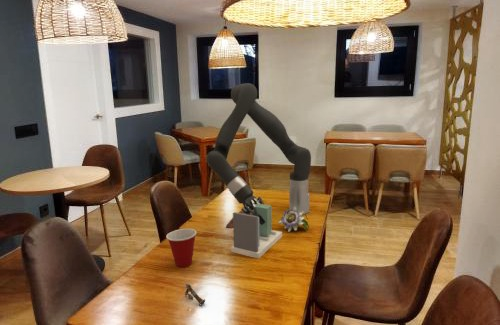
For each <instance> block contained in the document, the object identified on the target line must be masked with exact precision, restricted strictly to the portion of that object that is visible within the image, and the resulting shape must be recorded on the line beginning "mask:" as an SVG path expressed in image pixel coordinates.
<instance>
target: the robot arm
mask: <svg viewBox="0 0 500 325" xmlns="http://www.w3.org/2000/svg"><path fill="white" fill-rule="evenodd" d="M230 98H231V100H232V101H233V103H234V104H235V106H234V108H233V109H232V112H231V113H230V115H229V116H228V117H227V119H226V120H225V121H224V123H223V124H222V126H220V130H219V132H218V134H217V136H216V138H215V142H214V144H215V145H214V148H213V150H211V151H209V152H208V153H207V155H206V163H207V164H208V166H209V167H210V168H211V169H212V171H214V172H215V173H216V175H217V176H218V177H219V178H220V180H221V181H222V183H223V184H224V185H225V186H226V188H227V189H228V191H229V193H230V194H231V195H232V196H233V197H234V199H235V200H236V201H237V202H238V203H239V204H240V205H241V204H242V206H243V207H242V208H241V210H240V211H243V212H244V213H245V214H248V215H251V214H252V215H254V216H258V217H259V223H260V224H261V225H263V224H264V223H265V220H264V219H263V218H262V217H261V216H260V215H259V213H258V212H257V209H256V207H255V205H256V204H264V205H265V203H264V201H263V200H262V197H261V196H258V197H255V195H254V190H253V189H252V188H251V187H250V186H249V185H248V183H247V182H246V181H245V180H244V179H243V178H242V177H241V176H240V175H239V173H238V172H237V171H236V169H234V167H232V166H231V165H230V163H229V161H228V160H227V158H228V155H229V153H230V148H231V146H232V144H233V142H234V140H235V137H236V136H237V133H238V131H239V129H240V127H241V124H242V123H243V121H244V119H245V118H246V117H247V115H248V117H250V119H251V120H252V121H253V122H254V123H255V125H256V126H257V127H258V128H259V129H260V131H262V132H263V133H264V134H265V136H266V137H267V138H268V139H269V140H271V142H272V143H273V144H275V146H276V147H278V149H279V150H280V151H281V153H282V154H283V155H284V157H285V158H286V159H287V161H288V162H289V163H290V164H293V167H294V168H293V169H294V170H292V171H291V172H290V173H289V204H288V206H289V207H288V208H289V209H288V210H290V209H293V207H296V211H297V212H301V211H303V214H302V215H304V214H306V215H307V213H310V193H309V176H310V173H311V164H312V156H311V155H312V154H311V151H310V150H309V149H308V148H307V147H303V146H300V145H298V144H297V143H295V142H294V141H293V140H292V139H291V138H290V136H289V135H288V132H287V129H286V127H285V126H284V124H283V122H282V121H281V120H280V119H279V118H278V117H277V115H275V114H274V113H272V112H271V111H269V110H268V109H267V108H265V107H263V106H262V105H261V104H259V103H258V102H257V101H256V100H257V98H258V90H257V88H256V86H255V85H254V84H253V83H249V82H247V83H241V84H236V85H234V86H233V87H232V88H231V91H230ZM253 209H254V210H253ZM252 210H253V211H252ZM297 212H296V213H297Z"/></svg>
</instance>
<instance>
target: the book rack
mask: <svg viewBox="0 0 500 325" xmlns="http://www.w3.org/2000/svg"><path fill="white" fill-rule="evenodd" d="M232 219H233V231H232V232H233V245H232V246H231V248H230V252H231V253H235V254H239V255H243V256H247V257H251V258H254V259H260V258H261V257H262V256H263V255H265V253H266V252H268V251H269V249H271V248H272V247H273V246H274V245H275V244H276V243H277V242H278V241H279V240H280V239H282V237H283V231H280V230H275V229H274V230H273V229H272V233H271V234H270V235H269V236H268V237H267V236H262V235H259V217H258V216H254V215H248V214H242V213H239V212H236V211H235V212H233V213H232Z"/></svg>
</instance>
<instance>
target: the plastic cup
mask: <svg viewBox="0 0 500 325" xmlns="http://www.w3.org/2000/svg"><path fill="white" fill-rule="evenodd" d="M196 235H197V231H196V230H195V229H193V228H180V229H177V230H176V229H175V230H173V231H171V232H169V233H167V234H166V237H165V238H166V239H167V240H168V243H169V245H170V250H171V254H172V257H173V261H174V264H175V266H176V267H177V268H187V267H189V266H191V265H192V262H193V255H194V248H195V247H194V246H195V242H196V241H195V239H196Z"/></svg>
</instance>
